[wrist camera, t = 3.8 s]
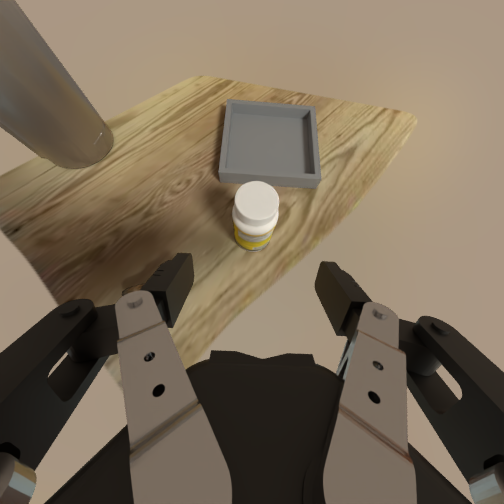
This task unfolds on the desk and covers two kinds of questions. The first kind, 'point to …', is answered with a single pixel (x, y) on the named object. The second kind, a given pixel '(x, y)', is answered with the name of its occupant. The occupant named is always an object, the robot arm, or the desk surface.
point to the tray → (270, 144)
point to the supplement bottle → (255, 215)
